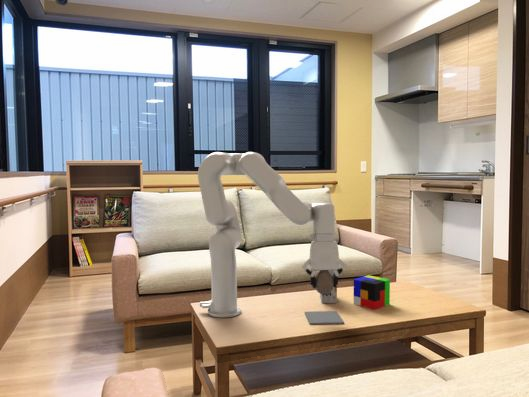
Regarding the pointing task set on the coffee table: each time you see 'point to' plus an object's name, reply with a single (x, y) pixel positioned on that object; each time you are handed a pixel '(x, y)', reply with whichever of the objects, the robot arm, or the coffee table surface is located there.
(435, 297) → the coffee table surface
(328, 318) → the mat
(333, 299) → the coffee box
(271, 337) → the coffee table surface
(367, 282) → the puzzle toy
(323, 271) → the vase
